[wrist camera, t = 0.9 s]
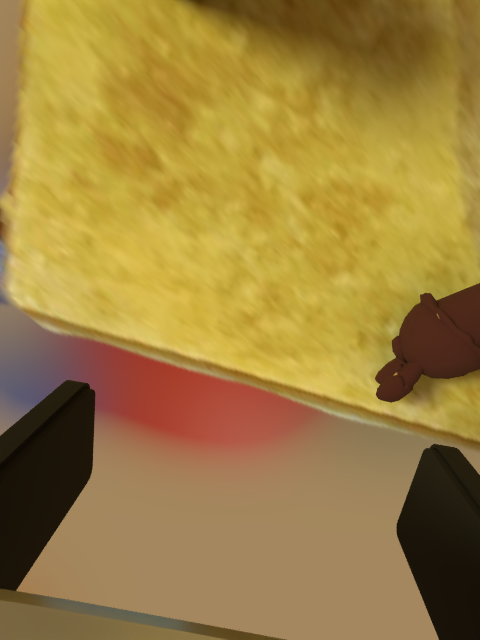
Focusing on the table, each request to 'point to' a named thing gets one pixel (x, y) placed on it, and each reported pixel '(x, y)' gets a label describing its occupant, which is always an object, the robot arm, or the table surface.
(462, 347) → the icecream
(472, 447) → the table surface
